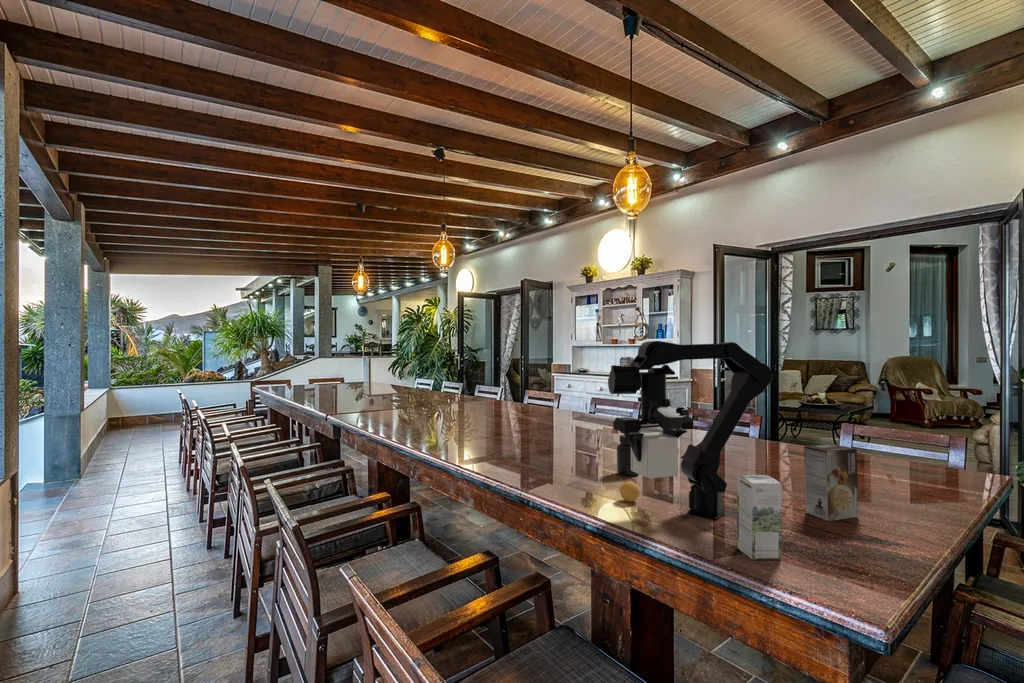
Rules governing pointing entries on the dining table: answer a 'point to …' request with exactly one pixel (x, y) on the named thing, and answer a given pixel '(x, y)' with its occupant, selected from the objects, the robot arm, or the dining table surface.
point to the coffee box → (831, 482)
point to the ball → (629, 491)
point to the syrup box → (759, 516)
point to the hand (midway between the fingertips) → (653, 460)
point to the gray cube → (657, 456)
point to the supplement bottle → (624, 458)
